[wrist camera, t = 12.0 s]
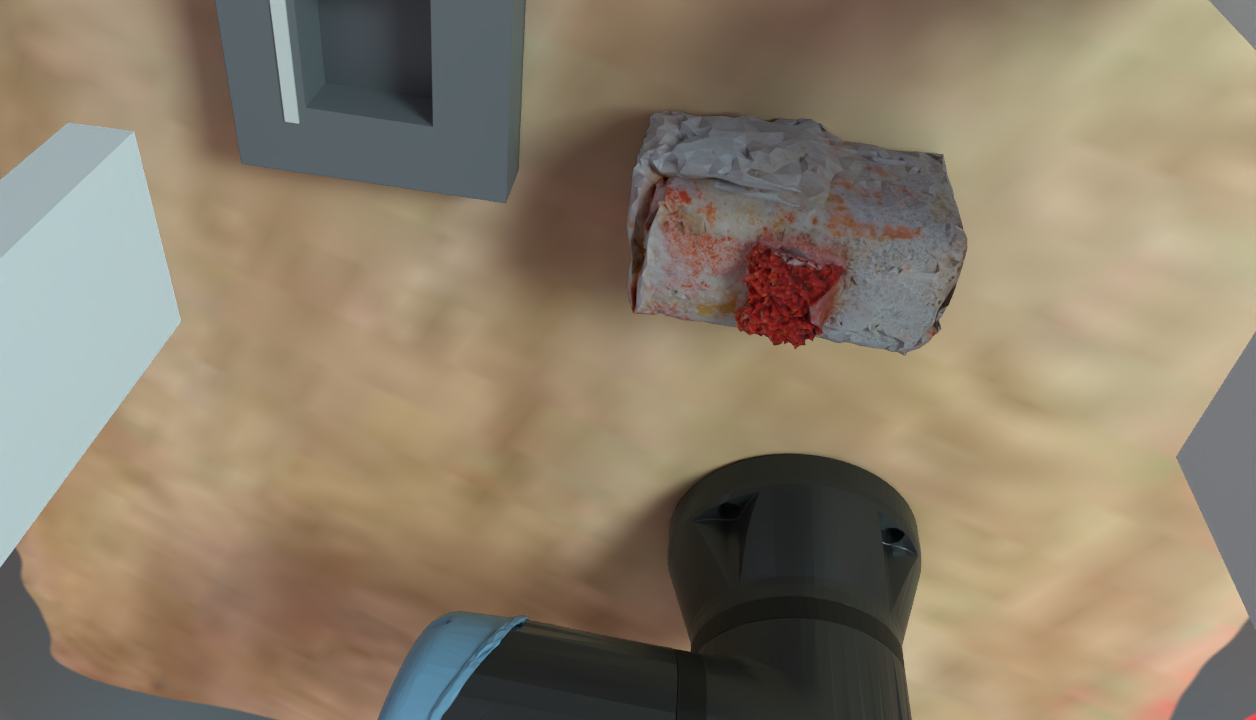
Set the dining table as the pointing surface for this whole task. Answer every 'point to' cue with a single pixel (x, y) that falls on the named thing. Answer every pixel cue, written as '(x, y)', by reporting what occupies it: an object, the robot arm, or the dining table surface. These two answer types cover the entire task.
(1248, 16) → the milk
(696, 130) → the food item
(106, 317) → the robot arm
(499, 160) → the panel
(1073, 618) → the dining table surface
